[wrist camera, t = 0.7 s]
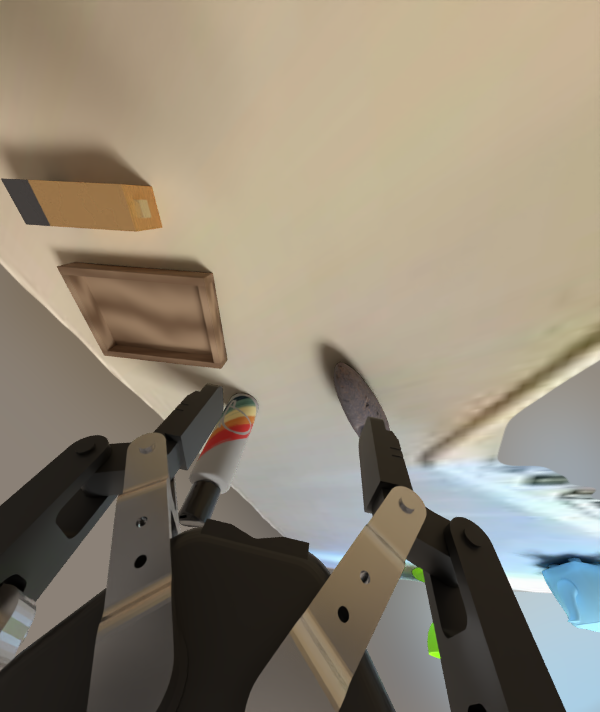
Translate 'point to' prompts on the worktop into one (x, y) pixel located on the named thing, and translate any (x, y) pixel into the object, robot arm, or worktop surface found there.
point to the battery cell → (85, 204)
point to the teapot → (577, 591)
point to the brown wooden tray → (150, 312)
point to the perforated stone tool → (356, 398)
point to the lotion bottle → (218, 460)
